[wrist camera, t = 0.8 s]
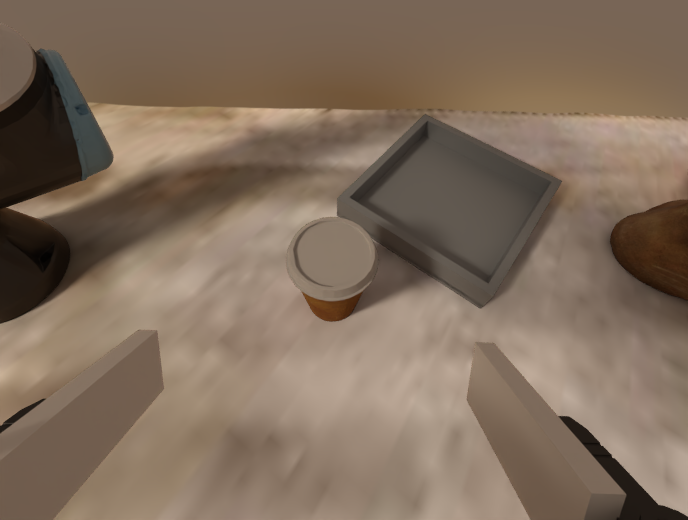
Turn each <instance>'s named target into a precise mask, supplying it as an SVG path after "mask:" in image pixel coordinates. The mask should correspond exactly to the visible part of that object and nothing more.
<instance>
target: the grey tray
mask: <svg viewBox="0 0 688 520" xmlns="http://www.w3.org/2000/svg"><path fill="white" fill-rule="evenodd" d="M561 182H562V181H561V180H559V179H557V178H555V177H553V176H551V175H549V174H547V173H545V172H543V171H541V170H539V169H536V168H534V167H532V166H530V165H528V164H526V163H524V162H522V161H520V160H518V159H516V158H514V157H512V156H510V155H508V154H506V153H504V152H502V151H500V150H498V149H496V148H494V147H491V146H489V145H487V144H485V143H483V142H481V141H479V140H477V139H475V138H473V137H471V136H469V135H467V134H465V133H463V132H461V131H459V130H457V129H455V128H453V127H451V126H448V125H446V124H444V123H442V122H440V121H438V120H436V119H434V118H432V117H430V116H428V115H426V114H425V115H423V116H422V117H421V118H420V119H419V120H418V121H417V122H416V123H415V124H414V125H413V126H412V127H411V128H410V129H409V130H408V131H407V132H406V133H405V134H404V135H403V136H402V137H401V138H400V139H399V140H397V141H396V142H395V143H394V144H393V145H392V146H391V147H390V148H389V149H388V150H387V151H386V152H385V153H384V154H383V155H382V156H381V157H380V158H379V159H378V160H377V161H376V162H375V163H374V164H373V165H371V166H370V167H369V168H368V169H367V170H366V171H365V172H364V173H363V174H362V175H361V176H360V177H359V178H358V179H357V180H356V181H355V182H354V183H353V184H352V185H351V186H350V187H349V188H348V189H347V190H345V191H344V192H343V193H342V194H341V195H340V196H339V197H338V198H337V216H338V217H340V218H344V219H347V220H350V221H353V222H354V223H356V224H358V225H360V226H361V227H362V228H363V229H364V230H365V231H366V232H367V233H368V234H369V236H370V237H371V238H372V239H374V240H375V241H377V242H379V243H380V244H382V245H383V246H385V247H386V248H388V249H389V250H391V251H392V252H394V253H396V254H397V255H399V256H400V257H402V258H403V259H405V260H406V261H408V262H409V263H411V264H412V265H414V266H416V267H417V268H419V269H420V270H422V271H423V272H425V273H426V274H428V275H429V276H431V277H432V278H434V279H436V280H437V281H439V282H440V283H442V284H443V285H445V286H446V287H448V288H449V289H451V290H453V291H454V292H456V293H457V294H459V295H460V296H462V297H463V298H465V299H466V300H468V301H469V302H471V303H473V304H474V305H476V306H477V307H479V308H482V307H483V306H484V305H485V304H486V303H487V302H488V301H489V300H490V299H491V298H492V297H493V296H494V294H495V293H496V291H497V289H498V288H499V286H500V284H501V283H502V281H503V279H504V278H505V276H506V274H507V273H508V271H509V269H510V268H511V266H512V264H513V263H514V261H515V259H516V258H517V256H518V254H519V253H520V251H521V249H522V248H523V246H524V244H525V243H526V241H527V239H528V238H529V236H530V234H531V233H532V231H533V229H534V228H535V226H536V224H537V223H538V221H539V219H540V218H541V216H542V214H543V212H544V211H545V209H546V207H547V206H548V204H549V202H550V201H551V199H552V197H553V196H554V194H555V192H556V191H557V189H558V187H559V186H560V184H561Z"/></svg>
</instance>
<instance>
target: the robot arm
mask: <svg viewBox="0 0 688 520" xmlns="http://www.w3.org/2000/svg"><path fill="white" fill-rule="evenodd" d="M112 162H113V152H112V150H111V148H110V146H109V144H108V142H107V140H106V138H105V136H104V134H103V132H102V130H101V129H100V127H99V125H98V123H97V121H96V119H95V117H94V115H93V113H92V112H91V110H90V108H89V106H88V104H87V102H86V101H85V98H84V97H83V95H82V93H81V91H80V89H79V88H78V86H77V84H76V82H75V80H74V78H73V76H72V74H71V73H70V71H69V69H68V67H67V65H66V63H65V62H64V60H63V59H62V57H61V55H60V54H59V53H58V52H56V51H55V50H44V49H40V50H38V51H36V52H35V51H34V49H33V48H32V47H31V46H30V44H29V43H28V42H27V41H26V40H25V39H24V38H23V37H22V36H21V35H20V34H19V33H18V32H17V31H15V30H14V29H12V28H11V27H9V26H7V25H5V24H3V23H0V323H2V322H5V321H8V320H10V319H13V318H15V317H17V316H19V315H21V314H23V313H25V312H27V311H28V310H30V309H31V308H33V307H34V306H36V305H37V304H38V303H40V302H41V301H42V300H43V299H45V298H46V297H47V296H48V295H49V294H50V293H51V292H52V291H53V290H54V288H55V287H56V286H57V285H58V283H59V282H60V280H61V279H62V277H63V276H64V274H65V271H66V269H67V266H68V263H69V258H70V250H69V246H68V243H67V241H66V239H65V238H64V237H63V235H62V234H60V233H59V232H58V231H57V230H55V229H54V228H53V227H51V226H50V225H49V224H47V223H45V222H44V221H42V220H39V219H37V218H34V217H31V216H28V215H25V214H23V213H20V212H17V211H14V210H11V209H9V208H6V207H9V206H11V205H14V204H17V203H20V202H23V201H26V200H28V199H31V198H34V197H37V196H40V195H42V194H45V193H48V192H51V191H54V190H56V189H59V188H62V187H65V186H68V185H71V184H73V183H76V182H79V181H84V180H86V179H87V177H89V176H91V175H93V174H96V173H98V172H100V171H102V170H105V169H107V168H108V167H109V166H110V165H111V164H112ZM163 389H164V385H163V376H162V368H161V359H160V351H159V342H158V333H157V331H155V330H138V331H136V332H135V333H134V334H132V335H131V336H130V337H128V338H127V339H126V340H124V341H123V342H122V343H120V344H119V345H118V346H116V347H115V348H114V349H112V350H111V351H110V352H108V353H107V354H106V355H104V356H103V357H102V358H100V359H99V360H98V361H96V362H95V363H94V364H92V365H91V366H90V367H88V368H87V369H86V370H84V371H83V372H82V373H80V374H79V375H78V376H76V377H75V378H74V379H72V380H71V381H70V382H68V383H67V384H66V385H64V386H63V387H62V388H60V389H59V390H58V391H56V392H55V393H54V394H52V395H51V396H50V397H48V398H47V399H42V400H40V401H38V402H36V403H34V404H32V405H30V406H28V407H26V408H24V409H22V410H20V411H19V412H17V413H16V414H15V415H13V416H12V417H11V418H9V419H8V420H6V421H5V422H4V423H3V425H2V426H0V520H53V519H54V518H55V516H56V515H57V514H58V513H59V512H60V511H61V509H62V508H63V507H64V506H65V505H66V503H67V502H68V501H69V500H70V499H71V498H72V496H73V495H74V494H75V493H76V492H77V491H78V489H79V488H80V487H81V486H82V485H83V483H84V482H85V481H86V480H87V479H88V478H89V476H90V475H91V474H92V473H93V472H94V470H95V469H96V468H97V467H98V466H99V465H100V463H101V462H102V461H103V460H104V459H105V458H106V456H107V455H108V454H109V453H110V452H111V450H112V449H113V448H114V447H115V446H116V445H117V443H118V442H119V441H120V440H121V439H122V438H123V436H124V435H125V434H126V433H127V432H128V430H129V429H130V428H131V427H132V426H133V425H134V423H135V422H136V421H137V420H138V419H139V417H140V416H141V415H142V414H143V413H144V412H145V410H146V409H147V408H148V407H149V406H150V405H151V403H152V402H153V401H154V400H155V399H156V397H157V396H158V395H159V394H160V393H161V392H162V390H163ZM467 401H468V403H469V405H470V407H471V409H472V411H473V413H474V414H475V416H476V418H477V420H478V422H479V424H480V426H481V428H482V429H483V431H484V433H485V435H486V437H487V439H488V441H489V443H490V444H491V446H492V448H493V450H494V452H495V454H496V456H497V458H498V459H499V461H500V463H501V465H502V467H503V469H504V471H505V473H506V474H507V476H508V478H509V480H510V482H511V484H512V486H513V488H514V489H515V491H516V493H517V495H518V497H519V499H520V501H521V503H522V504H523V506H524V508H525V510H526V512H527V514H528V516H529V517H530V519H531V520H688V517H687V516H686V515H684V514H682V513H680V512H679V511H676V510H673V509H671V508H668V507H665V506H661V505H658V504H657V503H656V502H655V501H654V500H653V498H652V497H651V496H650V495H649V494H648V493H647V492H646V491H645V490H644V489H643V488H642V487H641V486H640V485H639V484H638V483H637V482H636V480H635V479H634V478H633V477H632V476H631V475H630V474H629V473H628V472H627V471H626V470H625V469H624V468H623V467H622V466H621V465H620V464H619V462H618V461H617V460H616V459H615V458H612V455H611V454H610V453H609V452H608V451H607V450H606V449H605V448H604V447H603V446H601V445H600V442H599V441H598V440H597V439H596V438H595V437H594V436H593V435H592V434H591V433H590V432H589V431H588V430H587V429H586V428H585V427H583V426H582V425H580V424H579V423H578V422H576V421H575V420H573V419H572V418H570V417H568V416H557V415H556V413H555V412H554V411H553V410H552V409H551V408H550V407H549V405H548V404H547V403H546V402H545V401H544V400H543V399H542V397H541V396H540V395H539V394H538V393H537V392H536V391H535V389H534V388H533V387H532V386H531V385H530V384H529V383H528V381H527V380H526V379H525V378H524V377H523V376H522V375H521V373H520V372H519V371H518V370H517V369H516V368H515V367H514V365H513V364H512V363H511V362H510V361H509V360H508V359H507V357H506V356H505V355H504V354H503V353H502V352H501V351H500V349H499V348H498V347H497V346H496V345H495V344H494V343H481V342H475V348H474V354H473V361H472V367H471V374H470V380H469V387H468V394H467Z"/></svg>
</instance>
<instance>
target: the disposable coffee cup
mask: <svg viewBox="0 0 688 520" xmlns="http://www.w3.org/2000/svg"><path fill="white" fill-rule="evenodd" d="M378 261H379V259H378V252H377V249H376V247H375V244H374V242H373V241H372V239H371V237H370V236H369V234H368V233H367V232H366V231H365V230H364V229H363V228H362V227H361V226H360V225H358V224H356V223H354V222H353V221H350V220H347V219H344V218H339V217H326V218H320V219H317V220H314V221H312V222H310V223H308V224H306V225H305V226H304V227H302V228H301V229H300V230H299V231H298V232H297V233H296V235H295V236H294V238H293V240H292V241H291V243H290V245H289V247H288V250H287V254H286V267H287V271H288V274H289V276H290V278H291V280H292V281H293V283H294V284H295V285H296V287H298V288H299V289H300V290H301V291H302V293H303V295H304V297H305V299H306V301H307V302H308V304H309V306H310V308H311V310H312V312H313V313H314V314H315V315H316V316H317V317H319V318H321V319H323V320H325V321H331V322H332V321H339V320H342V319H344V318H346V317H347V316H349V315H350V314H351V313H352V311H353V310H354V308H355V306H356V304H357V302H358V300H359V298H360V296H361V294H362V292H363V290H364V289H365V288H367V287H368V286H369V285H370V283H371V282H372V280H373V279H374V277H375V275H376V272H377V269H378Z"/></svg>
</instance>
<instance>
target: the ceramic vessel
mask: <svg viewBox="0 0 688 520" xmlns="http://www.w3.org/2000/svg"><path fill="white" fill-rule="evenodd" d="M610 243H611V246H612V250H613V254H614V255H615V257H616V259H617V261H618V262H619V263H620V264H621V265H622V266H623V267H624V268H625V269H626V270H627V271H628V272H629V273H630V274H631V275H633V276H634V277H635V278H637V279H638V280H640V281H641V282H643V283H645V284H647V285H649V286H651V287H653V288H655V289H657V290H660V291H662V292H664V293H667V294H669V295H672V296H676V297H680V298H682V299H685V300H688V200H677V201H670V202H667V203H664V204H662V205H659V206H656V207H654V208H651V209H649V210H647V211H645V212H642V213H637V214H633V215H630V216H627V217H626V218H624V219H623V220H621V221H620V222H618V223H617V224H616V226H615V227H614V229H613V231H612V234H611V239H610Z"/></svg>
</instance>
